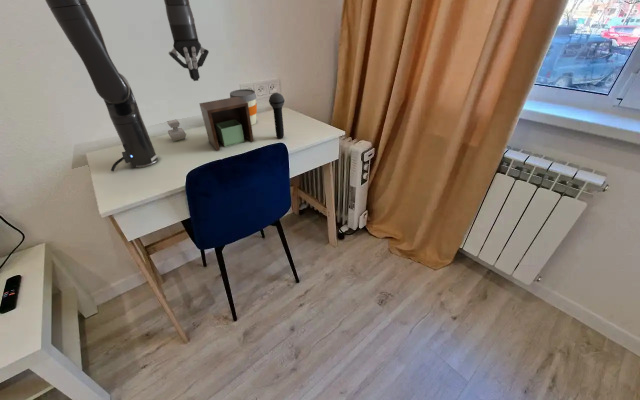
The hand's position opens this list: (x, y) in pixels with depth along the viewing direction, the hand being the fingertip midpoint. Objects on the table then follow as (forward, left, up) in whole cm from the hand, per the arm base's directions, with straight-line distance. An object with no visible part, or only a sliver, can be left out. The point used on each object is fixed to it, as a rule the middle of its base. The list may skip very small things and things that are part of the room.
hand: (195, 80), depth 99 cm
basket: (+10, +8, -29) cm, 32 cm away
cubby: (+10, +8, -29) cm, 32 cm away
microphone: (+30, -1, -29) cm, 42 cm away
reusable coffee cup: (+25, +26, -29) cm, 47 cm away
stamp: (-9, +25, -29) cm, 40 cm away
